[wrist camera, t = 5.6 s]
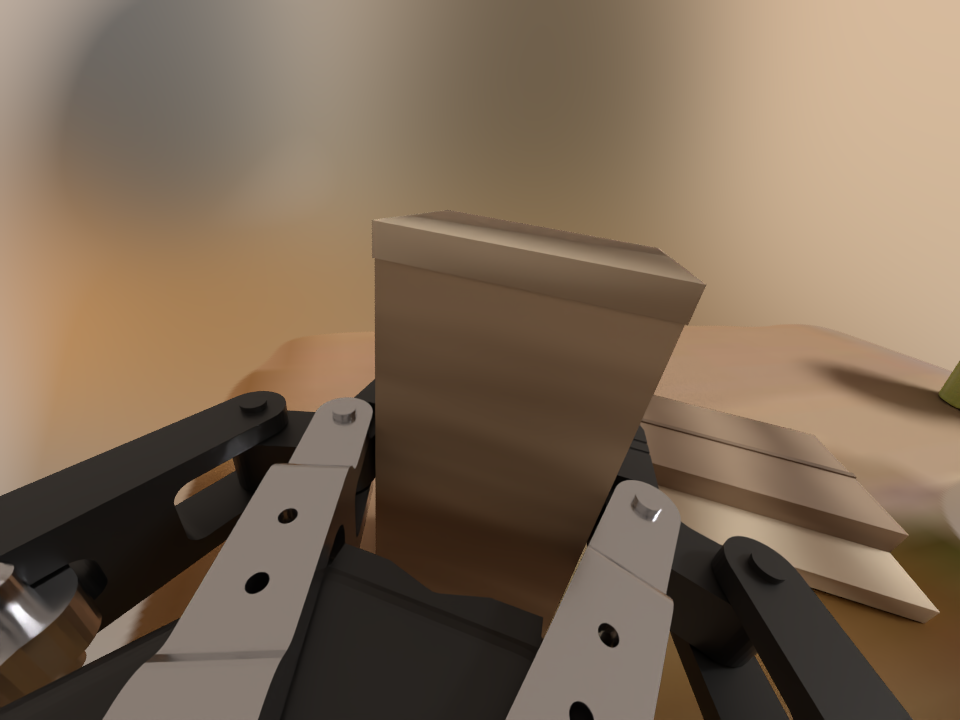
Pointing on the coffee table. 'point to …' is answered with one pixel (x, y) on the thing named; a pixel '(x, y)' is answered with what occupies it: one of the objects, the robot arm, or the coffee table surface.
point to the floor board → (781, 501)
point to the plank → (509, 394)
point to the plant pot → (952, 388)
